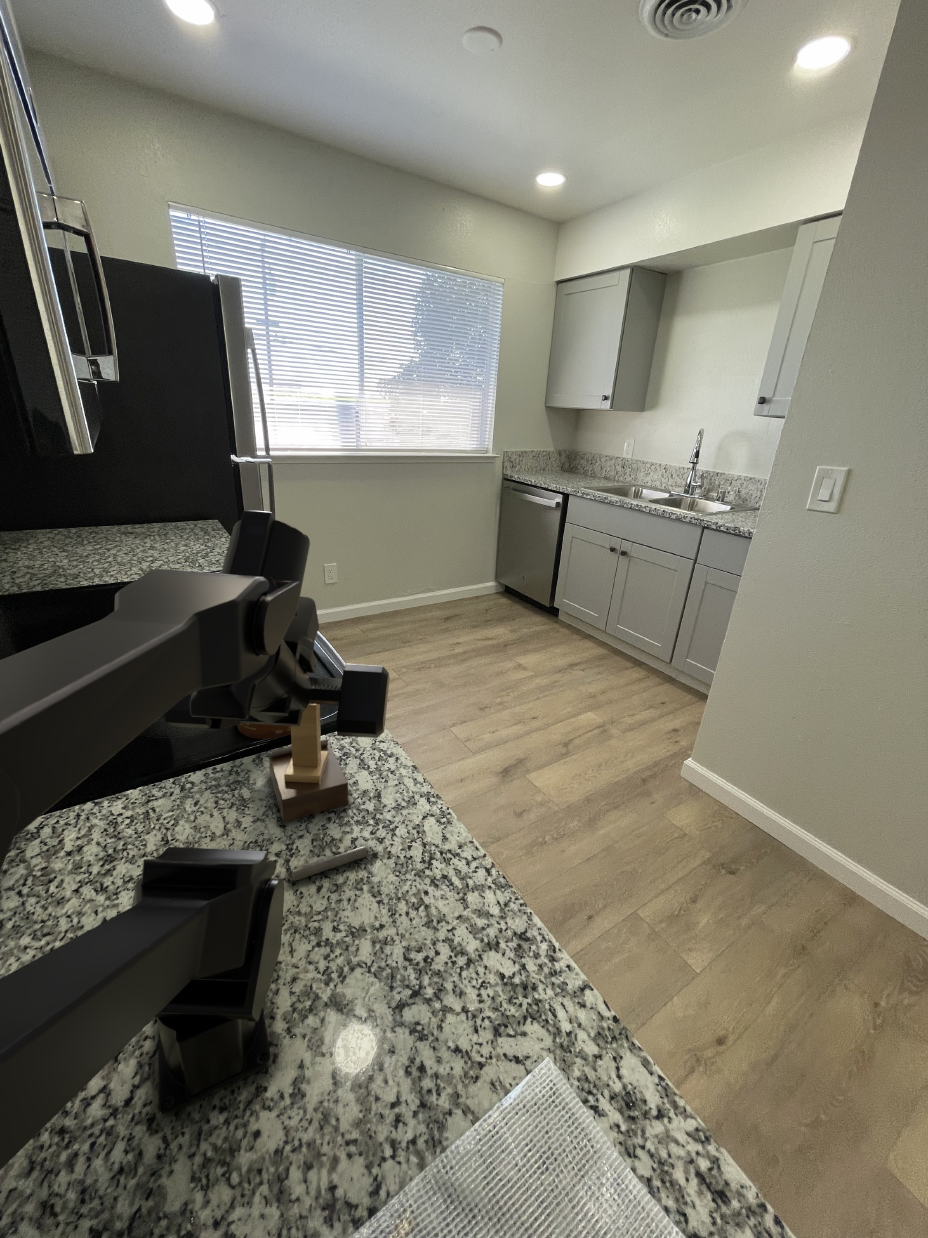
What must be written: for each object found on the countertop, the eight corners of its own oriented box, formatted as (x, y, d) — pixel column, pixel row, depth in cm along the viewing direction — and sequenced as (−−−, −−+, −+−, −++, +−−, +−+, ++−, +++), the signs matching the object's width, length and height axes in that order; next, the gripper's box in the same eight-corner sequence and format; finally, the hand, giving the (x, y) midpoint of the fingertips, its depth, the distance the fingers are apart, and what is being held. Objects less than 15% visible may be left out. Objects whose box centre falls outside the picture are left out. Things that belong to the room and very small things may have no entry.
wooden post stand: (319, 783, 55) (317, 704, 52) (284, 781, 55) (279, 702, 51) (329, 756, 60) (327, 682, 56) (296, 755, 59) (292, 680, 56)
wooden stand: (371, 857, 51) (372, 827, 49) (294, 883, 47) (292, 853, 46) (329, 762, 63) (328, 736, 62) (265, 777, 60) (263, 750, 58)
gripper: (390, 585, 42) (398, 649, 57) (159, 568, 41) (226, 637, 55) (376, 718, 38) (388, 751, 52) (116, 703, 37) (201, 741, 51)
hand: (300, 716), depth 53 cm, fingers open, 9 cm apart
